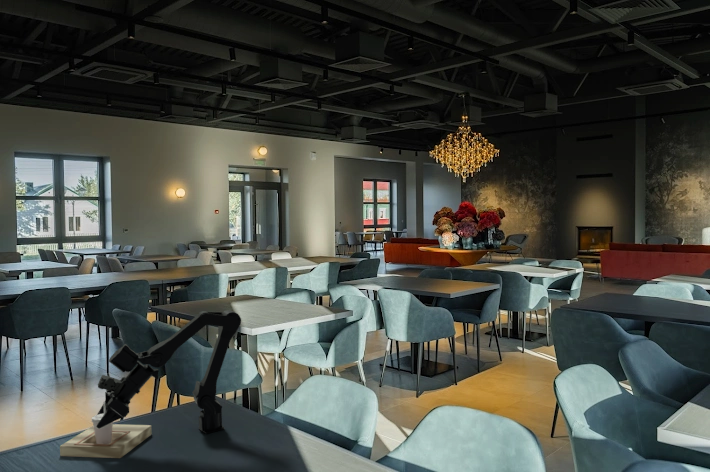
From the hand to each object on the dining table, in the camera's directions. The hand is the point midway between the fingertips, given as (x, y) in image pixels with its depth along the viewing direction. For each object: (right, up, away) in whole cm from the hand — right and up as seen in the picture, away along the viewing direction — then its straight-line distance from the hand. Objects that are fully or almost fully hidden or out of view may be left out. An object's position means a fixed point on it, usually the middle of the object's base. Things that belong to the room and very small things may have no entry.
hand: (97, 422), depth 178 cm
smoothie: (+2, -8, +1) cm, 8 cm away
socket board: (+2, -8, +3) cm, 9 cm away
